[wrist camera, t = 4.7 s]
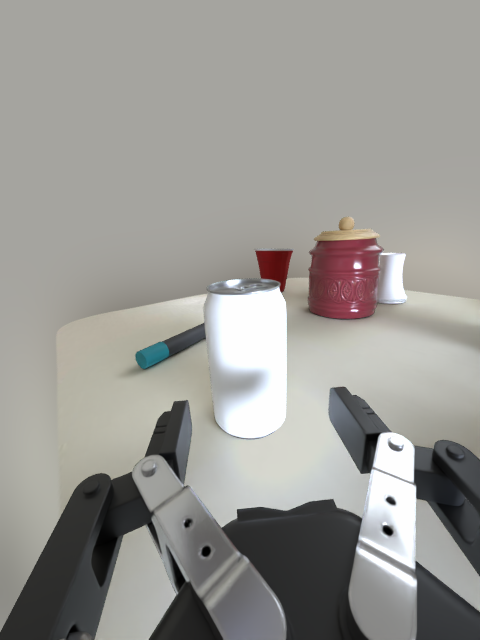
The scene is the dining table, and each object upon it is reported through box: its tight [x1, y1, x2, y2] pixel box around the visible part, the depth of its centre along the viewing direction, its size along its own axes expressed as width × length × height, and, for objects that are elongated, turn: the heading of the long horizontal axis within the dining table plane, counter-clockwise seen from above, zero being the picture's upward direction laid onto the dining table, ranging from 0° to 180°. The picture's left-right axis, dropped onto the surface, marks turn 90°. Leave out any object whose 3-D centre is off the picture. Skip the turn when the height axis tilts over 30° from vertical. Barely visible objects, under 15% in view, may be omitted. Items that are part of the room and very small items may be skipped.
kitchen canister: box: [308, 217, 384, 319], centre depth 49 cm, size 13×13×18 cm
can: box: [204, 279, 286, 439], centre depth 21 cm, size 6×6×12 cm
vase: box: [377, 253, 407, 304], centre depth 55 cm, size 8×8×10 cm
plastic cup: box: [254, 249, 294, 292], centre depth 70 cm, size 11×11×12 cm
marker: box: [135, 323, 206, 369], centre depth 38 cm, size 15×2×2 cm
